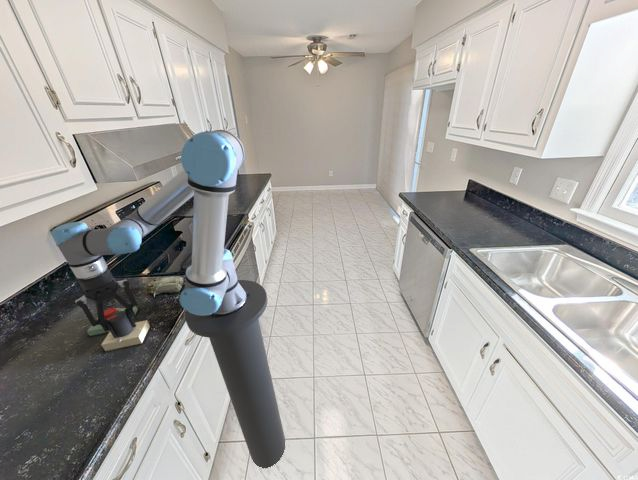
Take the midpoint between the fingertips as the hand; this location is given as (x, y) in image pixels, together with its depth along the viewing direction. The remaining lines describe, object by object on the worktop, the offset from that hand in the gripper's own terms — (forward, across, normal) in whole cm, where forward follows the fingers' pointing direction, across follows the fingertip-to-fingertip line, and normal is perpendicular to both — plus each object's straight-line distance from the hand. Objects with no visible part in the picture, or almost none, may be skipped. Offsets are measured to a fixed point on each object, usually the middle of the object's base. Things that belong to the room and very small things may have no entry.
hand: (124, 330), depth 86 cm
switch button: (0, -1, +13) cm, 14 cm away
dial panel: (+4, 0, 0) cm, 4 cm away
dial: (+1, 0, 0) cm, 1 cm away
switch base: (+4, -1, +14) cm, 14 cm away
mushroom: (+4, +20, +18) cm, 28 cm away
